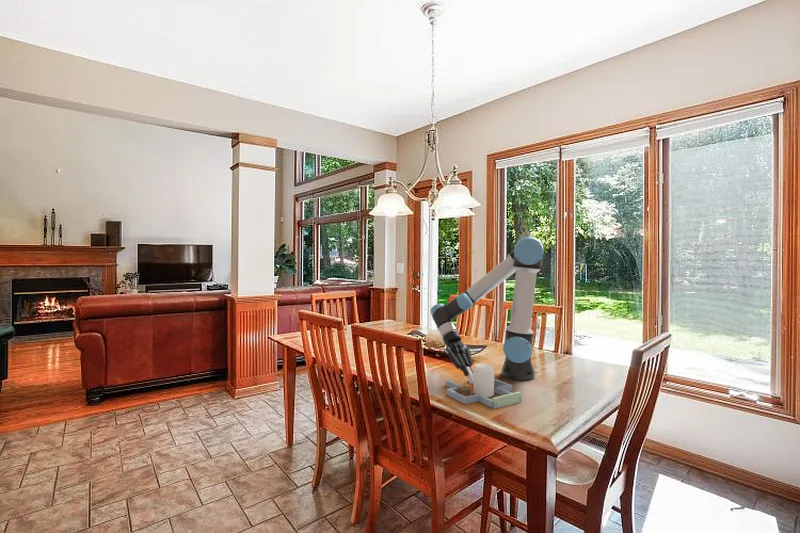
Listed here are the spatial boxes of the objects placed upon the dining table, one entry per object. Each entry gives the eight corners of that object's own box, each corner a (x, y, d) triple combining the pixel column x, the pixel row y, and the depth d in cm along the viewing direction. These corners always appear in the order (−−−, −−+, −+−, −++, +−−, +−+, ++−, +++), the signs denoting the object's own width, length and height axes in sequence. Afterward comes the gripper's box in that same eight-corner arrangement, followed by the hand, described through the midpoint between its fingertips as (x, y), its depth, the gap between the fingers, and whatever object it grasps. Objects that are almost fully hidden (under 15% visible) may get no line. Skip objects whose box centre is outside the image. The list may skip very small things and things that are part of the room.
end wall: (492, 408, 145) (492, 397, 145) (519, 401, 152) (519, 391, 152) (494, 409, 144) (494, 398, 144) (521, 402, 151) (521, 392, 151)
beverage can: (469, 393, 162) (469, 364, 161) (486, 390, 165) (486, 362, 164) (481, 399, 154) (481, 369, 154) (498, 397, 157) (498, 367, 157)
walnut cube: (456, 396, 156) (456, 386, 156) (464, 395, 158) (464, 385, 158) (462, 399, 153) (462, 389, 153) (470, 398, 155) (470, 388, 155)
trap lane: (433, 388, 167) (433, 382, 167) (481, 378, 181) (481, 373, 180) (480, 412, 141) (480, 405, 141) (533, 399, 154) (533, 393, 154)
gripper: (457, 337, 183) (481, 384, 169) (434, 340, 176) (456, 388, 162) (465, 328, 178) (489, 375, 164) (441, 331, 172) (464, 379, 157)
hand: (473, 382), depth 163 cm, fingers closed
